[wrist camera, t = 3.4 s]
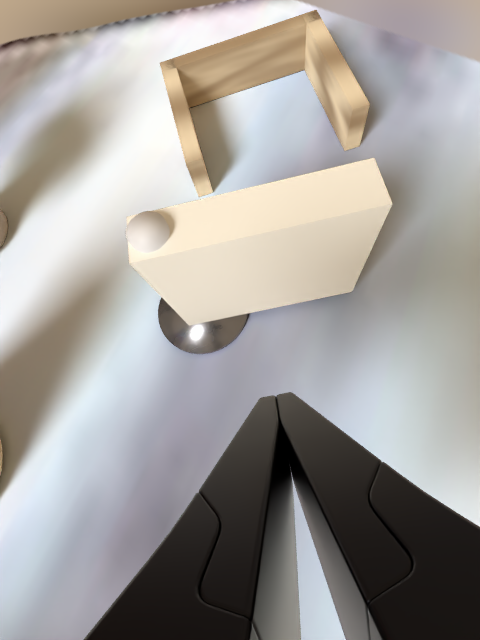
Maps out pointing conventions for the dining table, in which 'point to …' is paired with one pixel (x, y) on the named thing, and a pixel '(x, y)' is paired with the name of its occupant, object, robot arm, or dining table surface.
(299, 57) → the tray
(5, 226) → the decorative mushroom
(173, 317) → the pivot plate
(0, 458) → the stacking toy
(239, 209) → the lever
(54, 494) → the dining table surface
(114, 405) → the dining table surface
